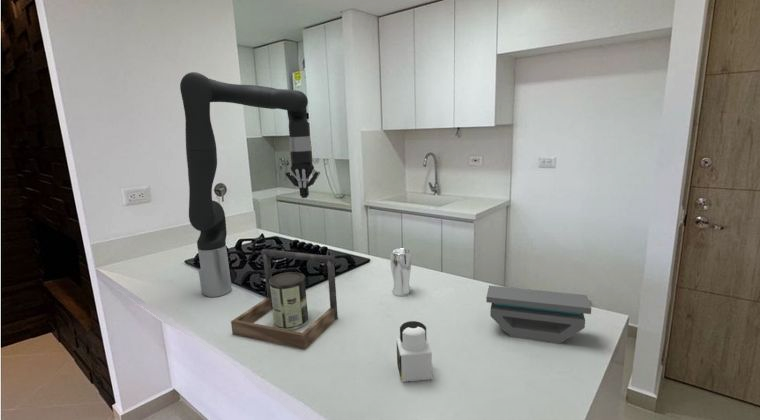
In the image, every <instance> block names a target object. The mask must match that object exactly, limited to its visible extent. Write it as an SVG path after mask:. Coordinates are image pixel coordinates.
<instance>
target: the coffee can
mask: <svg viewBox="0 0 760 420" xmlns="http://www.w3.org/2000/svg"><path fill="white" fill-rule="evenodd" d="M305 280H306V276H305V274H304V273H302V272H298V271H287V272H282V273H278V274H275V275H272V278H270V280H269V284H270V290H271V298H272V306H273V309H272V313H273V321H274V323H273V325H274V327H275V328H281V329H286V330H291V331H295V330H298V329H300V328H302V327H304V326H306V325H307V324H308V323H309V312H308V311H309V310H308V302H307V301H308V300H307V292H306V291H307V290H306V282H305Z"/></svg>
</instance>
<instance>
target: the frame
mask: <svg viewBox="0 0 760 420" xmlns="http://www.w3.org/2000/svg"><path fill="white" fill-rule="evenodd" d="M260 253H261V256H262V259H263V267H264V268H263V269H264V276H265V287H266V295H267V297H266V298H264V299H263V300H261V301H260V302H258V303H257V304H255V305H254V306H252V307H251V308H249V309H248V310H246V311H245V312H243V313H242V314H240V315H239V316H236V317H235V318H233V320H231V321H230V324H231V325H230V326H231V332H232V335H235V336H239V337H244V338H249V339H254V340H258V341H262V342H263V341H264V342H267V343H268V342H269V343H273V344H277V345H281V346H288V347H291V348H295V349H299V350H306V349H307V348H308V347H309V346H310V345H311V344H312V343H313V342H314V341H316V339H317V338H318V337H319V336H321V335H322V334H323V333H324V332H325V330H326V329H328V327H330V326H331V325H332V324H333V323H334V322H335V321H336V320H338V319H339V316H338V300H337V289H336V287H337V285H336V274H335V273H336V271H335V261H336V257H335V256H334V255H333V256H332V255H323V254H316V253H315V254H314V253H304V252H297V251H296V252H294V251H284V250H278V249H277V250H275V249H266V248H263V249H262V250H261V252H260ZM271 257H274V258H281V259H292V260H301V261H310V262H319V263H326V266H327V279H328V280H327V281H328V293H329V294H328V295H329V308H328V309H327V310H326V311H325V312H324V313H322V315H320V316H319V317H318V318H317V319H316V320H315V321H314V322H312V323H311V324H310V325H309V326H308V327H307V328H306V329H305V330H304V331H302V332H300V331H296V330H286V329H281V328H276V327H275V326H269V325H264V324H260V323H255V322H256V321H257V320H259V319H260V318H262V317H263V316H265V315H266V314H268V313H269V312H270V311H271V310H272V311H273V306H272V298H271V290H270V284H269V280H270V278H272V277H273V273H272V266H271V265H272V264H271Z"/></svg>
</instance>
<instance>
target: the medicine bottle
mask: <svg viewBox="0 0 760 420" xmlns="http://www.w3.org/2000/svg"><path fill="white" fill-rule="evenodd" d="M399 333H400V334H399V337H397V338H396V364H397V367H398V368H397V369H398V373H399V378H400V382H401V381H402V382H401V383H408V381H410V382H419V381H420V380H421V381H428V380H429V381H431V380H432V379H433V367H432V366H433V363H432V362H433V361H432V360H433V359H432V358H433V357H432V355H433V354H432V353H433V352H432V350H431V347H430V345H429V342H428V339H427V326H426V325H425V324H424V323H422V322H420V321H416V320H415V321H414V320H413V321H412V320H411V321H409V320H408V321H406V322H403V323H402V324H401V325H400V326H399ZM430 379H431V380H430ZM406 381H407V382H406Z"/></svg>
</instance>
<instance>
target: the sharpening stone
mask: <svg viewBox="0 0 760 420" xmlns="http://www.w3.org/2000/svg"><path fill="white" fill-rule="evenodd" d="M486 292H487V293H486V300H485V301H486V303H491V304H490V318H492V319H493V320H494V321H495V322H496V323H497V325H499V327H500V328H501V329H503V330H504V332H505V333H506V334H508V335H509V336H510V338H515V339H521V340H526V341H527V340H528V341H535V342H541V343H542V342H543V343H549V344H550V343H551V344H556V345H559V344H561V343H563V342H564V341H566V340H568V339H569V338H571V337H572V336H574V335H576V334H578V333H579V332H581V331H582V330H584V329H585V327H586V317H585V314H586V315H591V314H592V306H591V303H590V301H589V298H588V297H589V296H588V295H587V294H580V293H579V294H578V293H568V292H558V291H549V290H540V289H530V288H528V289H527V288H519V287H508V286H499V285H488V288H487V291H486Z"/></svg>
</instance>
